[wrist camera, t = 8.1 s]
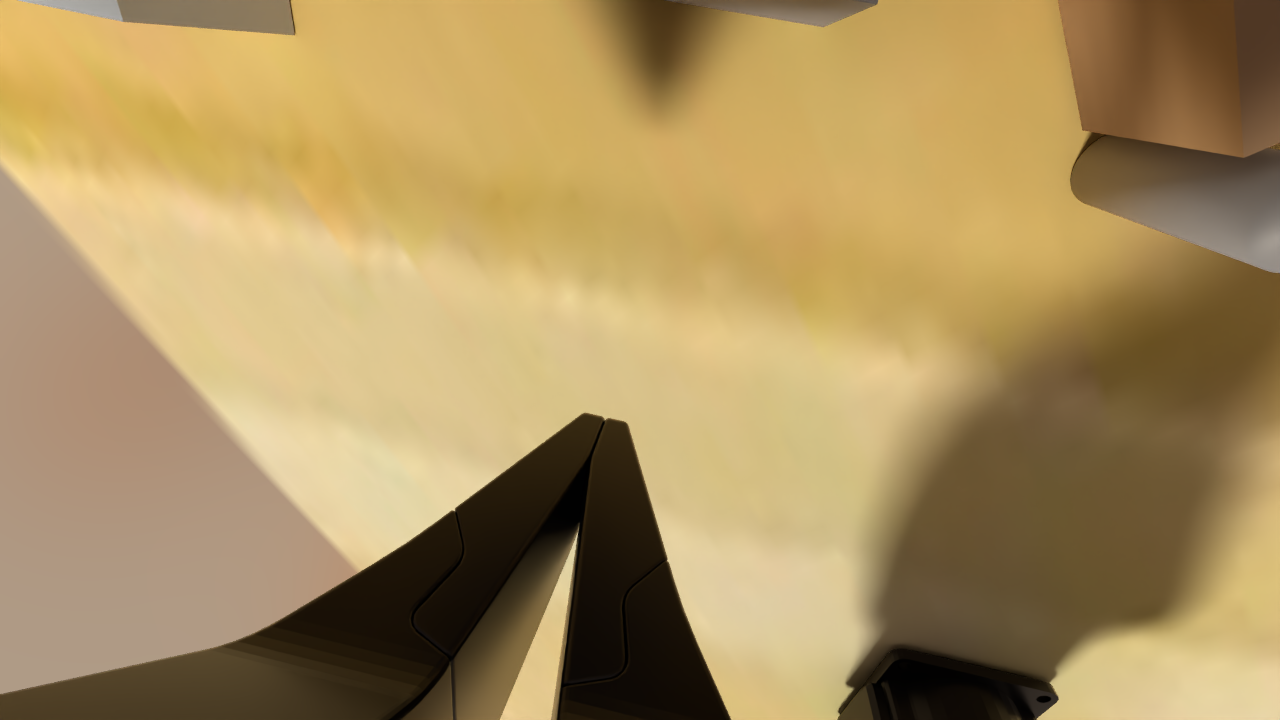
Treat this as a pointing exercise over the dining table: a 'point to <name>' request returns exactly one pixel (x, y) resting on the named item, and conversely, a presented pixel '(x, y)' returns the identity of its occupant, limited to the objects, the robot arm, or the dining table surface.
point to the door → (1178, 71)
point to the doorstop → (790, 9)
